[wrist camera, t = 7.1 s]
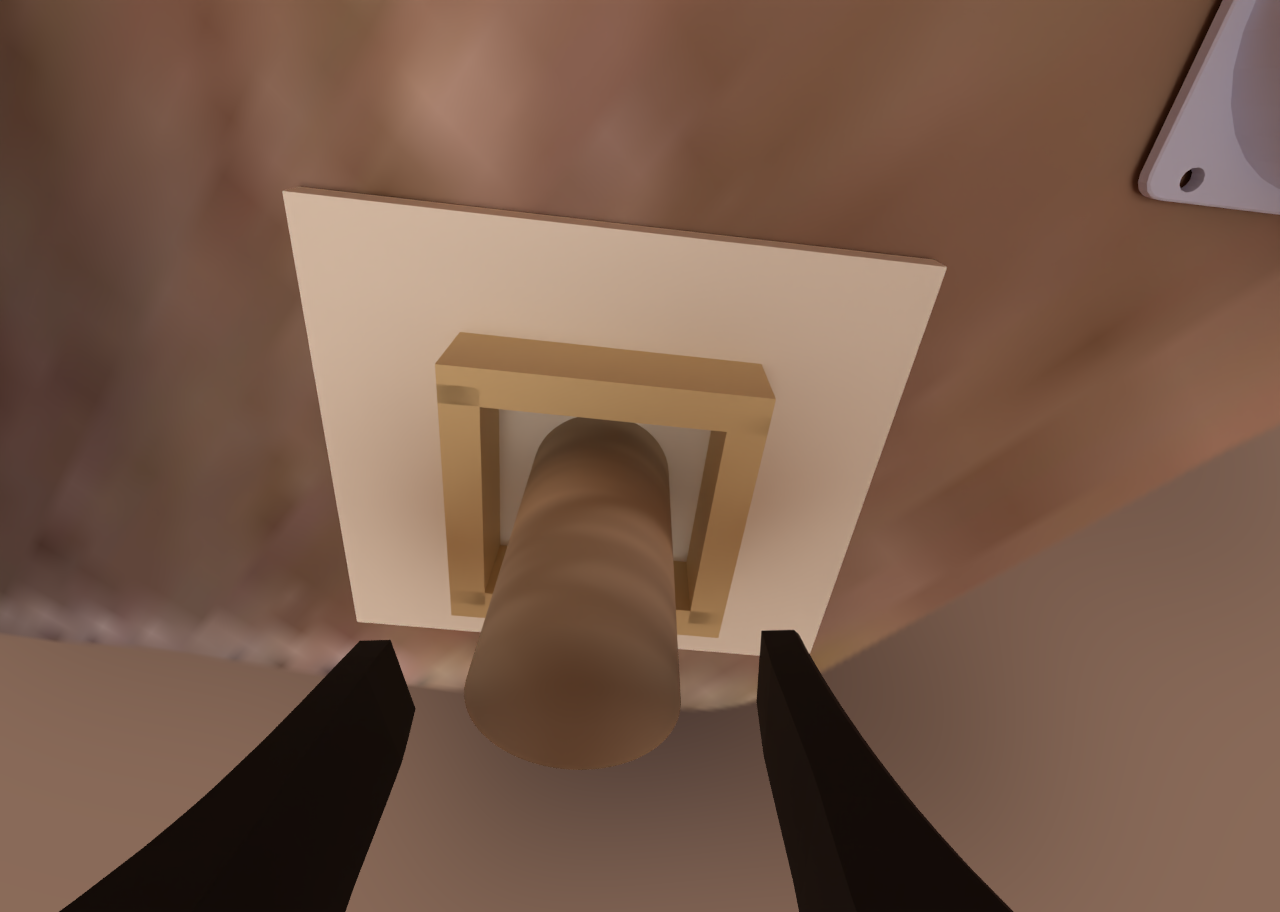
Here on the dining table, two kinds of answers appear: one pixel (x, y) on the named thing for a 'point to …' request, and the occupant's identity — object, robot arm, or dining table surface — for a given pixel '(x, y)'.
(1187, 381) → the dining table surface
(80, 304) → the dining table surface
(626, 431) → the birch peg
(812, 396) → the socket plate
